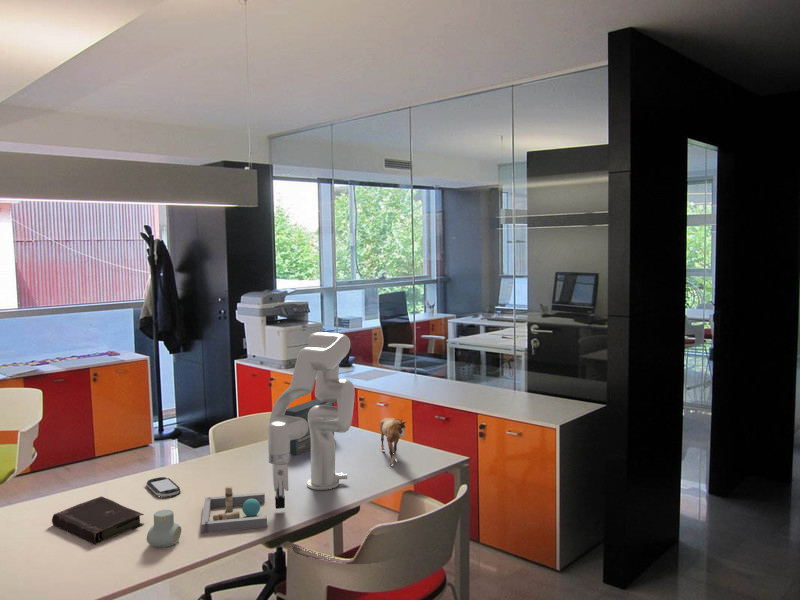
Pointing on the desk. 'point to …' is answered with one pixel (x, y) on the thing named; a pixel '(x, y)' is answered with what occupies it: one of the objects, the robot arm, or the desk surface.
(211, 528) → the pin pen
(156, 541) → the air freshener
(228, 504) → the back pin
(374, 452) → the desk surface
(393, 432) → the horse figurine
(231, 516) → the front pin
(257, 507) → the ball
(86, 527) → the diary
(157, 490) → the gaming console
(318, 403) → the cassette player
